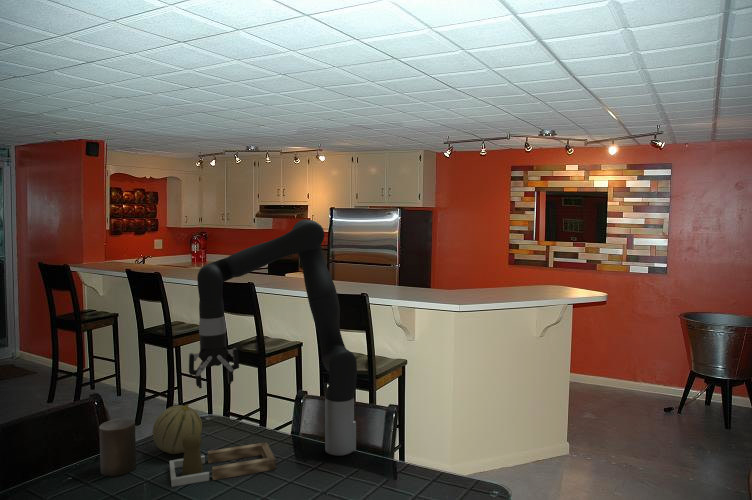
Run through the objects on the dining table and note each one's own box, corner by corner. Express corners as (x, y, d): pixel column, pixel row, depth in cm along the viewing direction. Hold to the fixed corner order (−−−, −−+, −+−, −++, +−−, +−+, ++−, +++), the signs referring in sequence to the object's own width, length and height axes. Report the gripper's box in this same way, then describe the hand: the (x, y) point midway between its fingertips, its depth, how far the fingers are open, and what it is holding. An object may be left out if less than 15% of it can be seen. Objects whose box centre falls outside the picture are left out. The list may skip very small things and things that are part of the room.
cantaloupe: (146, 450, 174) (145, 404, 173) (190, 438, 184) (190, 395, 183) (164, 466, 163) (163, 417, 162) (210, 452, 173) (209, 406, 172)
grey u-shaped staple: (204, 461, 167) (204, 455, 167) (209, 480, 155) (209, 473, 155) (169, 467, 163) (169, 460, 163) (171, 486, 151) (171, 479, 151)
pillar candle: (142, 468, 162) (141, 419, 161) (107, 480, 154) (106, 427, 154) (128, 459, 168) (127, 411, 168) (94, 469, 161) (93, 419, 160)
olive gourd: (196, 479, 155) (195, 441, 155) (177, 476, 157) (176, 439, 156) (207, 469, 161) (206, 433, 161) (188, 467, 163) (188, 431, 162)
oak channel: (266, 451, 174) (266, 442, 174) (275, 469, 162) (275, 459, 162) (207, 460, 167) (207, 451, 167) (212, 480, 155) (212, 469, 155)
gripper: (235, 327, 168) (237, 378, 169) (186, 332, 162) (188, 385, 163) (239, 331, 161) (241, 385, 162) (188, 337, 155) (191, 392, 157)
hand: (215, 385), depth 163 cm, fingers open, 8 cm apart
